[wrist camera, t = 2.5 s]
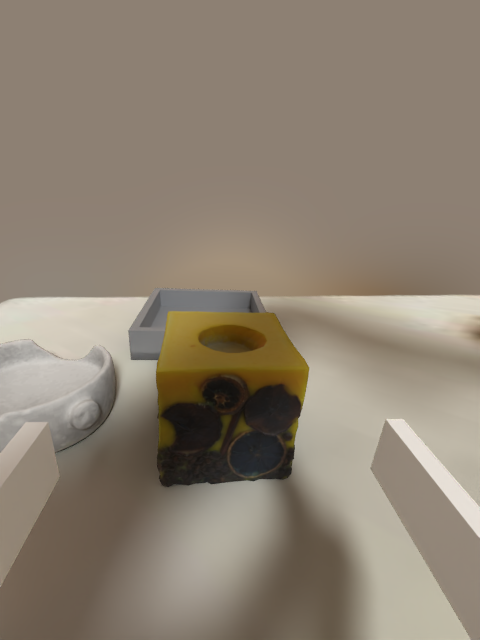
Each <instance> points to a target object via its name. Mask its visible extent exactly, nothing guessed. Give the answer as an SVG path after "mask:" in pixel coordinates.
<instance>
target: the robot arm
mask: <svg viewBox="0 0 480 640" xmlns="http://www.w3.org/2000/svg"><path fill="white" fill-rule="evenodd" d="M371 470H372V472H373V474H374V475H375V477H376V479H377V481H378V482H379V484H380V486H381V487H382V489H383V491H384V492H385V494H386V496H387V498H388V499H389V501H390V503H391V504H392V506H393V508H394V509H395V511H396V513H397V515H398V516H399V518H400V520H401V521H402V523H403V525H404V526H405V528H406V530H407V532H408V533H409V535H410V537H411V538H412V540H413V542H414V543H415V545H416V547H417V549H418V550H419V552H420V554H421V555H422V557H423V559H424V560H425V562H426V564H427V566H428V567H429V569H430V571H431V572H432V574H433V576H434V577H435V579H436V581H437V583H438V584H439V586H440V588H441V589H442V591H443V593H444V594H445V596H446V598H447V600H448V601H449V603H450V605H451V606H452V608H453V610H454V611H455V613H456V615H457V616H458V618H459V620H460V622H461V623H462V625H463V627H464V628H465V630H466V632H467V633H468V635H469V637H470V639H471V640H480V507H479V506H478V505H477V504H476V503H475V501H474V500H473V499H472V498H471V497H470V496H469V494H468V493H467V492H466V491H465V490H464V489H463V488H462V486H461V485H460V484H459V483H458V482H457V481H456V479H455V478H454V477H453V476H452V475H451V474H450V473H449V471H448V470H447V469H446V468H445V467H444V466H443V464H442V463H441V462H440V461H439V460H438V459H437V458H436V456H435V455H434V454H433V453H432V452H431V451H430V450H429V448H428V447H427V446H426V445H425V444H424V443H423V441H422V440H421V439H420V438H419V437H418V436H417V435H416V433H415V432H414V431H413V430H412V429H411V428H410V426H409V425H408V424H407V423H406V422H405V421H404V420H403V419H386V420H385V423H384V427H383V430H382V433H381V436H380V440H379V443H378V446H377V449H376V452H375V456H374V459H373V462H372V465H371ZM59 478H60V474H59V469H58V465H57V460H56V456H55V451H54V446H53V442H52V437H51V432H50V428H49V423H48V422H25V424H24V425H23V426H22V427H21V429H20V430H19V431H18V432H17V433H16V435H15V436H14V437H13V438H12V439H11V441H10V442H9V443H8V444H7V445H6V447H5V448H4V449H3V450H2V452H1V453H0V587H1V585H2V583H3V581H4V580H5V578H6V576H7V574H8V572H9V570H10V569H11V567H12V565H13V563H14V561H15V559H16V557H17V556H18V554H19V552H20V550H21V548H22V546H23V545H24V543H25V541H26V539H27V537H28V535H29V533H30V532H31V530H32V528H33V526H34V524H35V522H36V521H37V519H38V517H39V515H40V513H41V511H42V509H43V508H44V506H45V504H46V502H47V500H48V498H49V497H50V495H51V493H52V491H53V489H54V487H55V485H56V484H57V482H58V480H59Z"/></svg>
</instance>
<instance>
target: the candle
mask: <svg viewBox="0 0 480 640" xmlns="http://www.w3.org/2000/svg"><path fill="white" fill-rule="evenodd" d="M308 373H309V367H308V365H307V363H306V361H305V359H304V358H303V357H302V356H301V354H300V353H299V352H298V351H297V349H296V348H295V347H294V346H293V344H292V342H291V341H290V339H289V338H288V336H287V335H286V333H285V331H284V330H283V328H282V327H281V325H280V322H279V321H278V319H277V317H276V315H275V314H274V313H268V312H265V313H244V312H199V311H169V312H168V314H167V321H166V328H165V334H164V339H163V343H162V348H161V353H160V356H159V359H158V362H157V370H156V383H157V389H158V405H159V413H158V419H159V442H158V457H157V467H158V470H159V472H160V477H159V479H160V482H161V484H162V485H165V486H168V487H169V486H171V485H173V484H183V485H191V484H195V483H206V482H208V483H210V484H216V483H224V482H233V481H244V480H250V481H255V480H258V479H285V478H288V476H289V475H290V474H291V470H292V468H291V466H292V460H293V459H294V450H295V445H294V441H295V435H296V431H297V428H298V418H299V417H300V413H301V410H302V406H303V402H304V397H305V392H306V386H307V381H308Z"/></svg>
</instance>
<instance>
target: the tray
mask: <svg viewBox="0 0 480 640" xmlns="http://www.w3.org/2000/svg"><path fill="white" fill-rule="evenodd" d="M169 311H199V312H244V313H265V312H266V311H265V309H264V307H263V304H262V302H261V300H260V298H259V296H258V294H257V291H238V290H204V289H203V290H202V289H169V288H155V289H154V291H153V292H152V294H151V295H150V297H149V299H148V300H147V302H146V303H145V305H144V307H143V308H142V310H141V311H140V313H139V314H138V316H137V318H136V319H135V321H134V322H133V324H132V326H131V327H130V329H129V330H128V331H129V342H130V352H131V360H158V359H159V356H160V353H161V348H162V343H163V339H164V334H165V328H166V321H167V314H168V312H169Z"/></svg>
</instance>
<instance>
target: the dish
mask: <svg viewBox="0 0 480 640" xmlns="http://www.w3.org/2000/svg"><path fill="white" fill-rule="evenodd" d="M114 397H115V371H114V365H113V361H112V357H111V355H110V353H109V352H108V351H107V350H106V349H105V348H104V347H103V346H101V345H95V346H94V347H93V348H92V350H91V351H90V353H89V354H88V355H87V356H85V357H84V358H81V359H78V360H68V359H63V358H59V357H57V356H55V355H54V354H52V353H50V352H48V351H46V350H44V349H43V348H41V347H40V346H38V345H37V344H36V343H35V342H34V341H33V340H31V339H24V340H16V341H11V342H6V343H2V344H0V453H1V452H2V450H3V449H4V448H5V447H6V445H7V444H8V443H9V442H10V441H11V439H12V438H13V437H14V436H15V435H16V433H17V432H18V431H19V430H20V429H21V427H22V426H23V425H24V424H25V422H48V423H49V428H50V432H51V437H52V442H53V446H54V451H55V452H58V451H60V450H63V449H65V448H67V447H69V446H71V445H73V444H75V443H77V442H79V441H81V440H82V439H84V438H86V437H87V436H88V435H90V434H91V433H92V432H94V431H95V430H96V429H97V428H98V427H99V426H100V425H101V424H102V423H103V422H104V420H105V419H106V418H107V416H108V414H109V413H110V411H111V408H112V405H113V402H114Z"/></svg>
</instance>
